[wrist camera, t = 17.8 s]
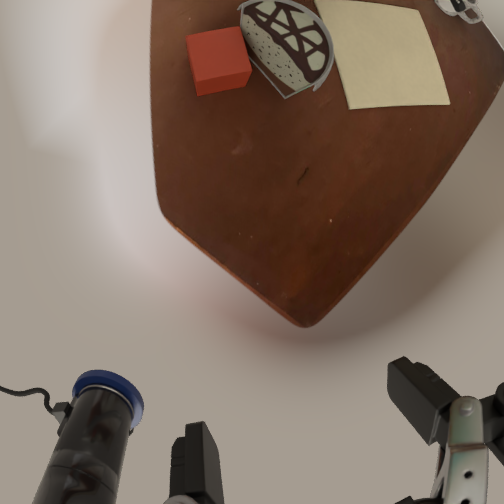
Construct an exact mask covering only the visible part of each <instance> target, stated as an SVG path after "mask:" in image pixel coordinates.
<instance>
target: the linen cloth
mask: <svg viewBox="0 0 504 504" xmlns="http://www.w3.org/2000/svg"><path fill="white" fill-rule="evenodd" d="M314 2H315V5H316V7H317V10H318V12H319V15H320V18H321V20H322V22H323V23H324V24H325V25H326V27H327V29H328V30H329V32H330V35H331V37H332V41H333V45H334V58H335V61H336V64H337V68H338V71H339V74H340V78H341V81H342V85H343V88H344V92H345V95H346V99H347V103H348V106H349V109H360V108H372V107H386V106H406V105H450V101H449V97H448V94H447V90H446V86H445V83H444V79H443V76H442V73H441V70H440V66H439V63H438V60H437V57H436V54H435V52H434V49H433V46H432V43H431V41H430V38H429V35H428V33H427V30H426V28H425V25H424V23H423V21H422V18H421V16H420V14H419V11H418V10H414V9H409V8H404V7H398V6H392V5H385V4H378V3H369V2H360V1H348V0H314Z"/></svg>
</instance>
